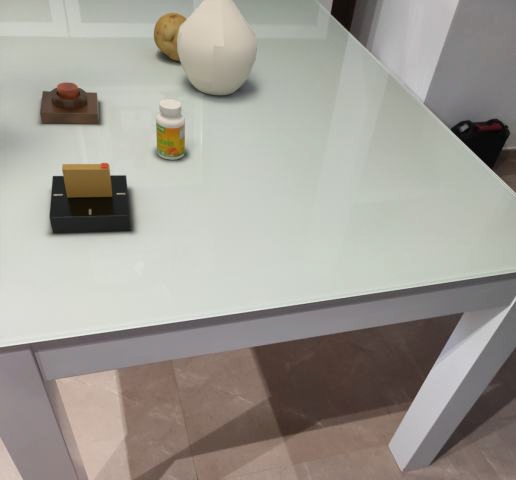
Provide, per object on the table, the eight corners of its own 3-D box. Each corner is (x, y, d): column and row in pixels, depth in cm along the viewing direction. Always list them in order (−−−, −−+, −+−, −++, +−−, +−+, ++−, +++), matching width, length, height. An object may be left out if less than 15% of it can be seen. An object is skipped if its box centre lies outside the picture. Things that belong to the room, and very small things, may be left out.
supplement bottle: (152, 155, 100) (150, 105, 92) (164, 144, 103) (163, 94, 96) (177, 163, 99) (177, 113, 92) (189, 151, 102) (189, 102, 95)
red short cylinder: (57, 99, 103) (56, 90, 102) (58, 90, 106) (57, 81, 104) (78, 99, 104) (77, 90, 103) (78, 91, 107) (77, 82, 105)
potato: (188, 48, 139) (189, 6, 132) (197, 67, 132) (199, 23, 124) (151, 47, 137) (149, 4, 129) (157, 66, 129) (156, 21, 122)
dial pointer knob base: (52, 233, 80) (49, 216, 78) (55, 191, 88) (52, 174, 86) (131, 231, 83) (129, 214, 81) (127, 190, 91) (126, 174, 88)
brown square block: (42, 123, 103) (38, 103, 100) (44, 101, 109) (41, 82, 107) (98, 124, 106) (96, 104, 103) (98, 102, 112) (96, 83, 109)
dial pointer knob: (67, 197, 82) (61, 167, 78) (67, 192, 83) (62, 162, 79) (112, 197, 84) (109, 167, 80) (112, 191, 85) (108, 162, 81)
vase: (266, 88, 127) (284, -61, 105) (223, 111, 116) (234, -51, 94) (207, 66, 133) (213, -81, 111) (161, 85, 122) (157, -74, 100)
